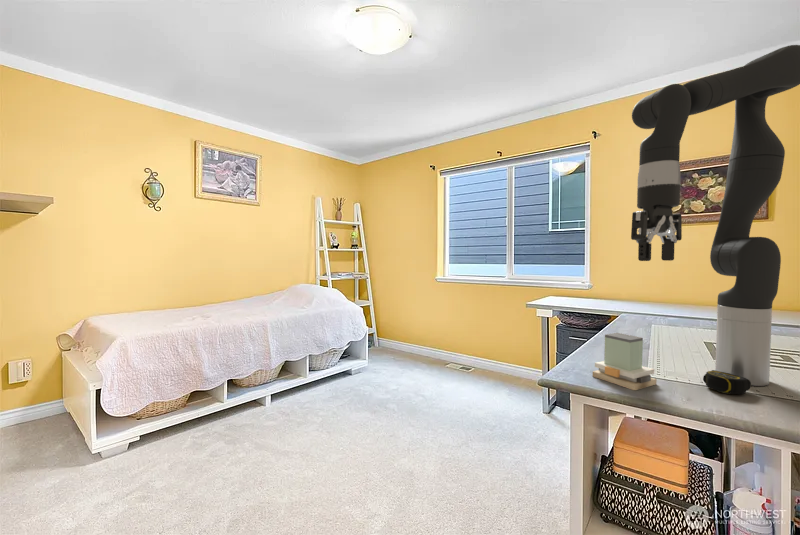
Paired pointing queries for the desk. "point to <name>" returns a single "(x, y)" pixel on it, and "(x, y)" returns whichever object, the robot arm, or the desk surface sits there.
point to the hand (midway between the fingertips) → (656, 260)
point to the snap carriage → (624, 371)
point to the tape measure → (726, 382)
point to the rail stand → (640, 383)
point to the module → (623, 351)
